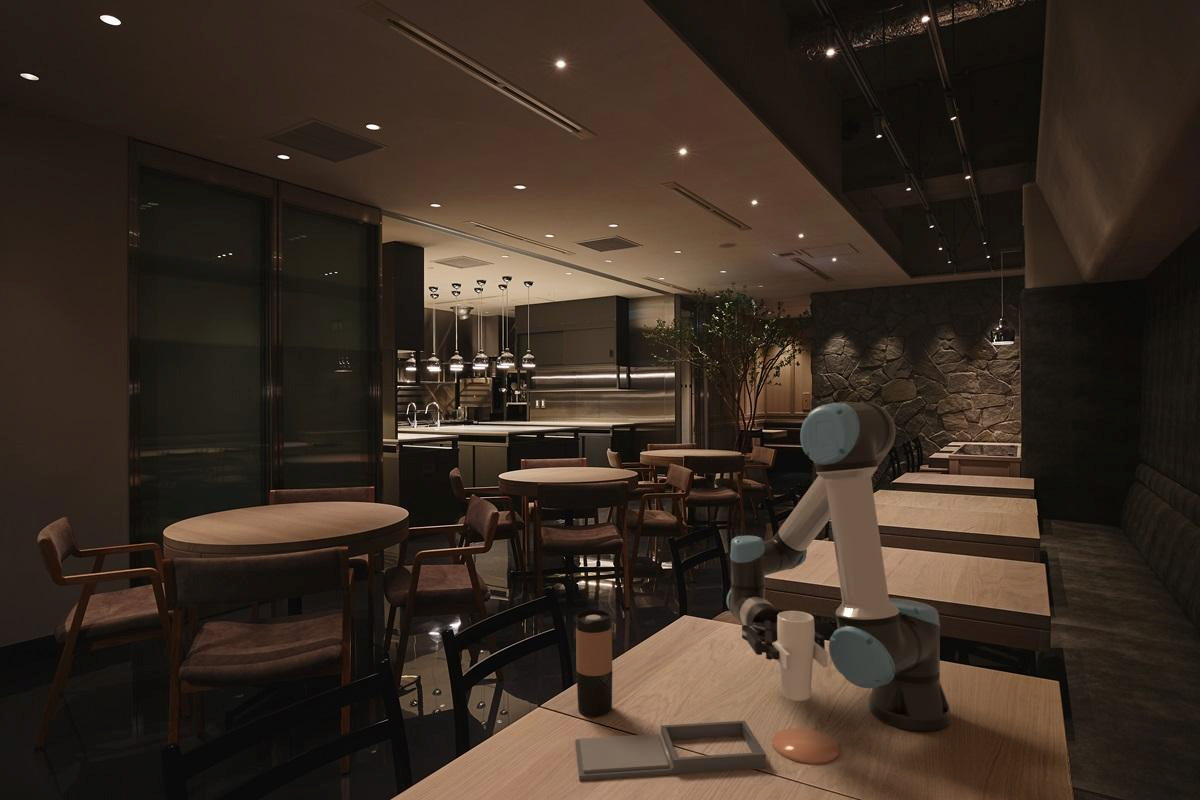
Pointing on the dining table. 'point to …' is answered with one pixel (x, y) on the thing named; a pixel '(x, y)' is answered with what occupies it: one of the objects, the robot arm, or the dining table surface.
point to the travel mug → (594, 662)
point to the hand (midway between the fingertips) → (806, 661)
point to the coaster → (805, 745)
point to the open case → (664, 752)
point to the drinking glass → (796, 653)
